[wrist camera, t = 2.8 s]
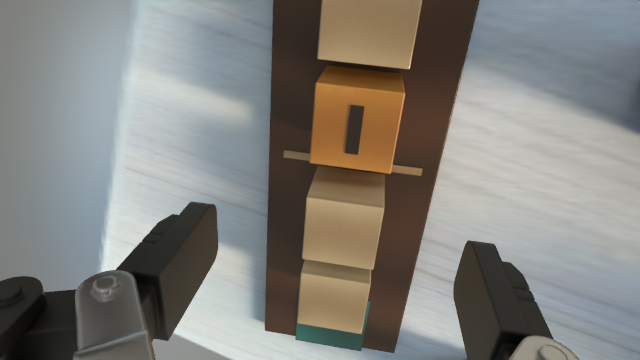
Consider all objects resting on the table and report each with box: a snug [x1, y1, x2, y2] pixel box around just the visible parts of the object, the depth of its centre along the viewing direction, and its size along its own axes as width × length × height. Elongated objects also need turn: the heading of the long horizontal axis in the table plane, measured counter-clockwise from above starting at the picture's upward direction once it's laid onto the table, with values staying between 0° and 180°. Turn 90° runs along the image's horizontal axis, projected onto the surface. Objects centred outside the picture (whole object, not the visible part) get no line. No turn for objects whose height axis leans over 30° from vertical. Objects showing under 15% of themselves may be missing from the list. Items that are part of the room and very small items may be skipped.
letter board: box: [265, 0, 479, 353], centre depth 24 cm, size 35×11×5 cm, turn 175°
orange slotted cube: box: [310, 65, 405, 174], centre depth 22 cm, size 4×4×4 cm
